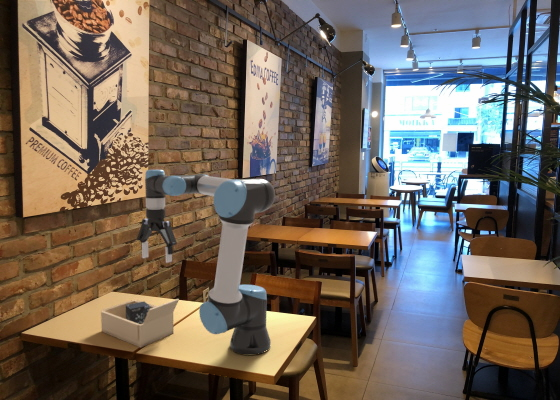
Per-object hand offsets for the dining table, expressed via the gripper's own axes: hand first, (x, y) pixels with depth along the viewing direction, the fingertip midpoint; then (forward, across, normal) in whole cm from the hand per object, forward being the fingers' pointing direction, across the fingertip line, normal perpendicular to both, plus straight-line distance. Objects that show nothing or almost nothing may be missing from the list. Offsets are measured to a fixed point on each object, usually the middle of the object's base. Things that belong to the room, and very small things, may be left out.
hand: (156, 259), depth 180 cm
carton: (+28, +2, +9) cm, 30 cm away
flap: (+19, -10, +9) cm, 24 cm away
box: (+28, +2, +9) cm, 29 cm away
